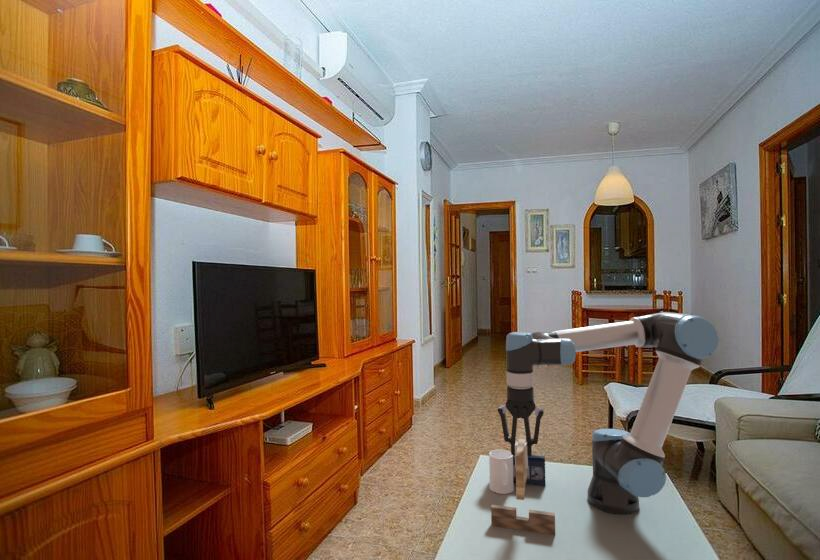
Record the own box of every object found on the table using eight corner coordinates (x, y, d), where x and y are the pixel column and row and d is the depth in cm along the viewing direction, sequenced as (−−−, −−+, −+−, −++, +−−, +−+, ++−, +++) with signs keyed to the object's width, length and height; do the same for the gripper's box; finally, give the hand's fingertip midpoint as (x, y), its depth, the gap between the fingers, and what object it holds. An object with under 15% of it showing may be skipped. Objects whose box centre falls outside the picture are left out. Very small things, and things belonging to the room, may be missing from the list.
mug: (518, 498, 146) (518, 462, 146) (493, 499, 146) (492, 463, 146) (511, 482, 158) (510, 448, 158) (487, 482, 158) (486, 449, 158)
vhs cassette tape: (492, 481, 159) (491, 453, 159) (493, 477, 162) (492, 450, 162) (545, 487, 154) (545, 459, 154) (545, 483, 156) (545, 455, 156)
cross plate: (523, 500, 121) (523, 456, 121) (516, 499, 122) (515, 455, 122) (526, 474, 136) (526, 436, 136) (520, 474, 137) (519, 435, 137)
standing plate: (555, 531, 127) (554, 512, 127) (555, 535, 126) (554, 515, 125) (492, 522, 132) (491, 504, 132) (491, 525, 131) (491, 507, 131)
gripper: (547, 384, 130) (548, 463, 130) (495, 381, 134) (496, 458, 135) (547, 390, 123) (548, 474, 123) (492, 387, 127) (494, 468, 128)
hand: (521, 466), depth 129 cm, fingers closed on cross plate, 2 cm apart
